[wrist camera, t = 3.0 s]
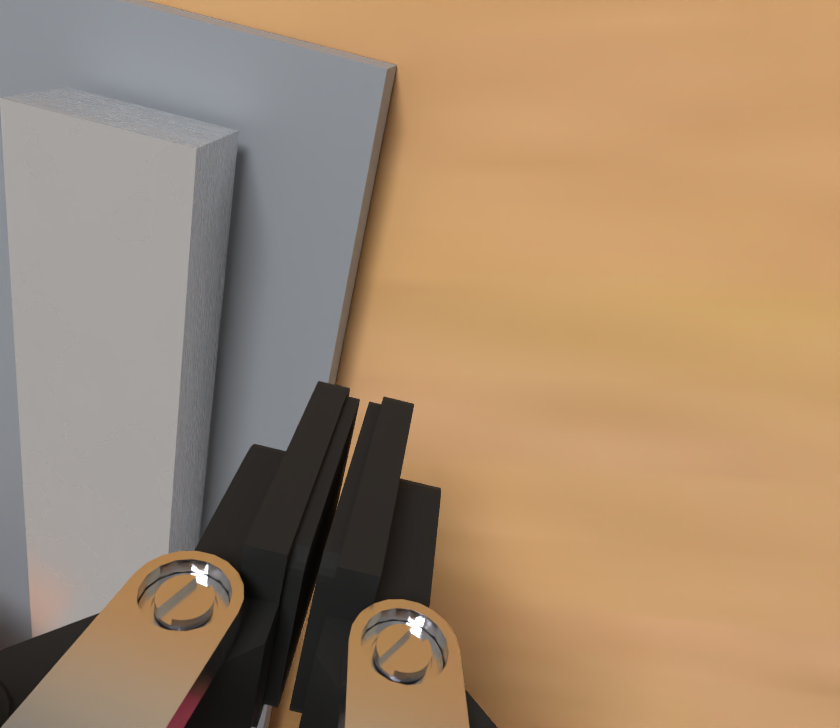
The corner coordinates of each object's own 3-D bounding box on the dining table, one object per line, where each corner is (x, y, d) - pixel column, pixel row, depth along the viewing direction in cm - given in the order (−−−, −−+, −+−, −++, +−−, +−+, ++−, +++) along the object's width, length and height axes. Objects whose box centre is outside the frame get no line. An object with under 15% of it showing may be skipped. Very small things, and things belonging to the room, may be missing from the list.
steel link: (202, 762, 27) (142, 910, 22) (53, 724, 27) (-37, 864, 22) (281, 141, 16) (191, 190, 11) (26, 76, 16) (-165, 99, 11)
